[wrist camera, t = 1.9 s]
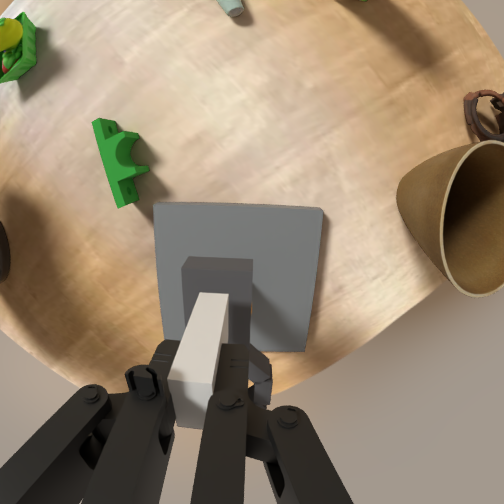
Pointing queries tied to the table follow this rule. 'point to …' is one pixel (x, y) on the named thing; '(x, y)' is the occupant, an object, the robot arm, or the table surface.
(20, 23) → the fruit basket
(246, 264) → the collar
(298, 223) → the pipe stand
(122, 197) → the pipe clamp
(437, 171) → the plant pot
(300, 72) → the table surface
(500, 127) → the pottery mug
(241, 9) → the flashlight
